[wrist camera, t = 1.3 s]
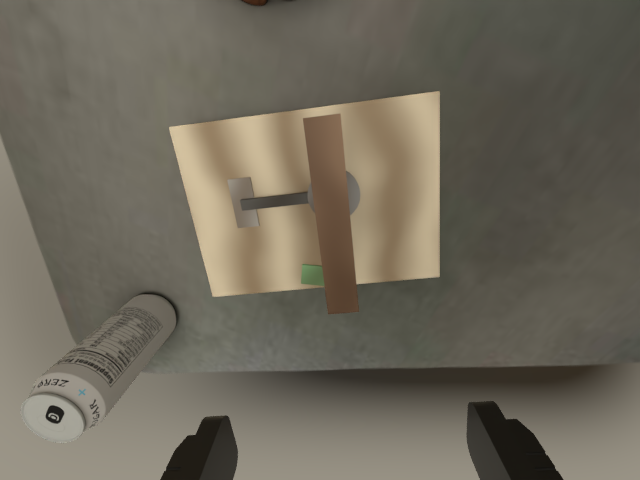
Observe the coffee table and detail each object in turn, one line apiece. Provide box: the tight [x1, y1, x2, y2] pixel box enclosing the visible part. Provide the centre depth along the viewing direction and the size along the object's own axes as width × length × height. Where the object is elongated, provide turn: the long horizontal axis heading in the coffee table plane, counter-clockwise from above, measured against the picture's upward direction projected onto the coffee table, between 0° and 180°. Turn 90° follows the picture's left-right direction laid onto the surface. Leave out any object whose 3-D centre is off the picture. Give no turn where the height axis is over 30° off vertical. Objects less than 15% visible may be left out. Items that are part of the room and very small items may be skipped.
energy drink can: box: [20, 294, 176, 443], centre depth 32 cm, size 6×6×15 cm
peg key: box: [240, 113, 360, 314], centre depth 23 cm, size 10×12×9 cm
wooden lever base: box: [169, 91, 440, 297], centre depth 31 cm, size 22×16×5 cm
